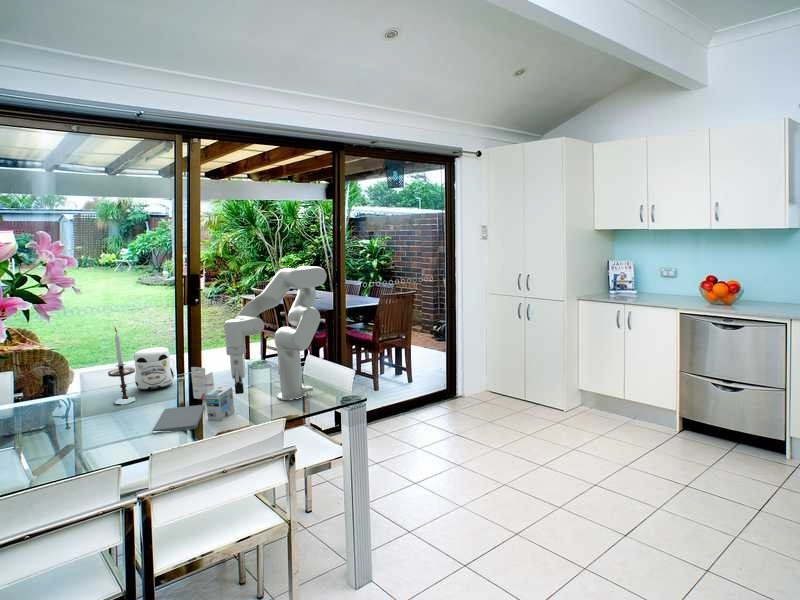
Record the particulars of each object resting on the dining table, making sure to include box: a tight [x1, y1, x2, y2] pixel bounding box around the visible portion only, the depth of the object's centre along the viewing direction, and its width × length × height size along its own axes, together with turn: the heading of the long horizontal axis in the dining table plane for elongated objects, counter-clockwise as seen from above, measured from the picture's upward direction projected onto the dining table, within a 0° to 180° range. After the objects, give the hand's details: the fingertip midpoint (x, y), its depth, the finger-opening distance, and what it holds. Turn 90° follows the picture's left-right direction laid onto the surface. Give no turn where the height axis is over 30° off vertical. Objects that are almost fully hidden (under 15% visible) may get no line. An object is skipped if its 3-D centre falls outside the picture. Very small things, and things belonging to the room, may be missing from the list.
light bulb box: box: [205, 386, 235, 421], centre depth 231 cm, size 11×7×11 cm, turn 168°
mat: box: [152, 404, 206, 432], centre depth 229 cm, size 16×24×2 cm, turn 11°
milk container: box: [133, 347, 175, 391], centre depth 274 cm, size 17×17×18 cm
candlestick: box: [107, 325, 136, 399], centre depth 252 cm, size 11×11×35 cm
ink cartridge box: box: [190, 366, 215, 400], centre depth 255 cm, size 9×5×15 cm, turn 68°
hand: (239, 393), depth 232 cm, fingers closed
